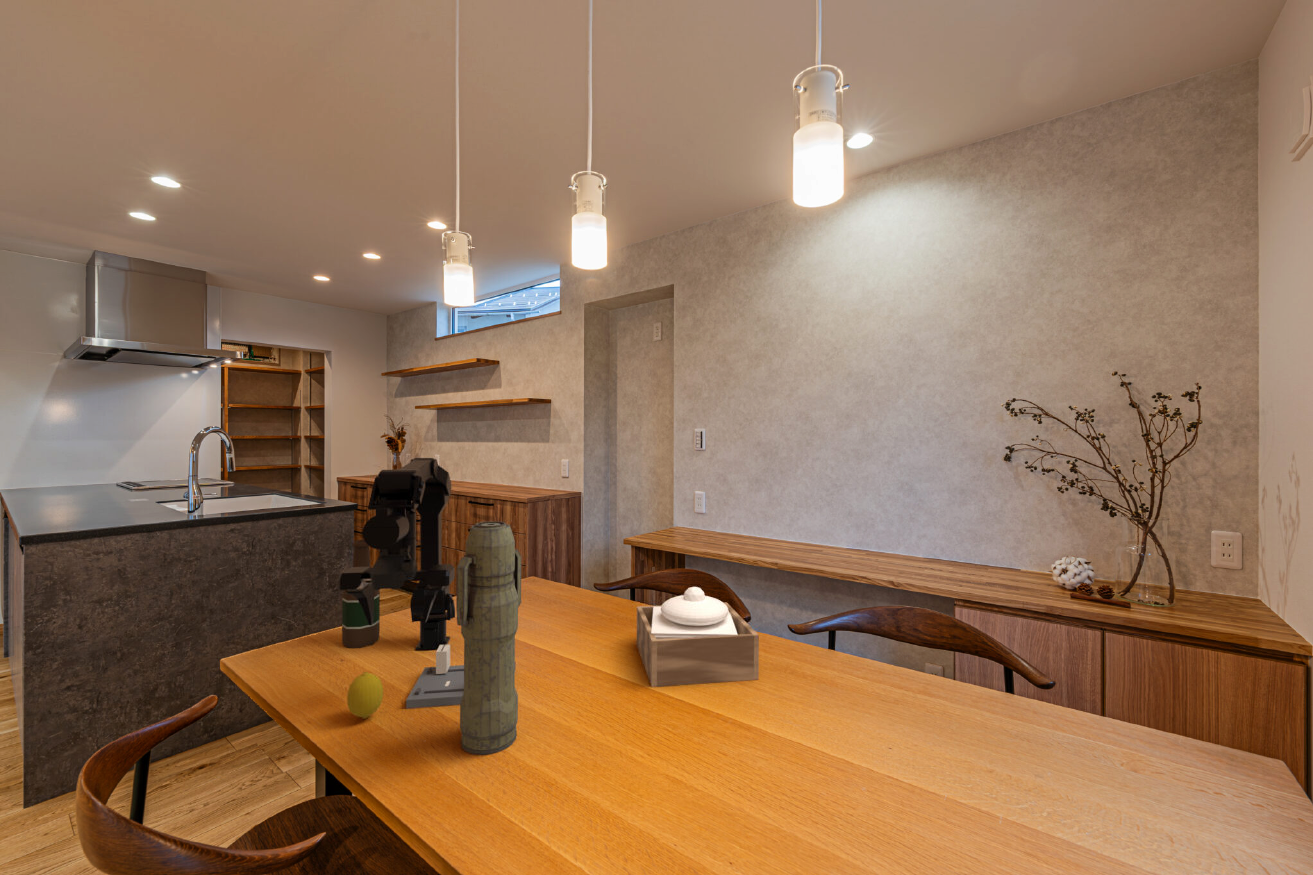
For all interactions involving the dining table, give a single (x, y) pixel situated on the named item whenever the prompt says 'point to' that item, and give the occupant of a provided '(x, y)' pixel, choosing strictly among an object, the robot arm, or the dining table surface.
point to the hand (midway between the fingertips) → (398, 623)
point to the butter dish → (692, 617)
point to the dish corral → (697, 654)
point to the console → (438, 688)
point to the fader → (442, 659)
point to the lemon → (365, 695)
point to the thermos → (489, 637)
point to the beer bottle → (359, 608)
